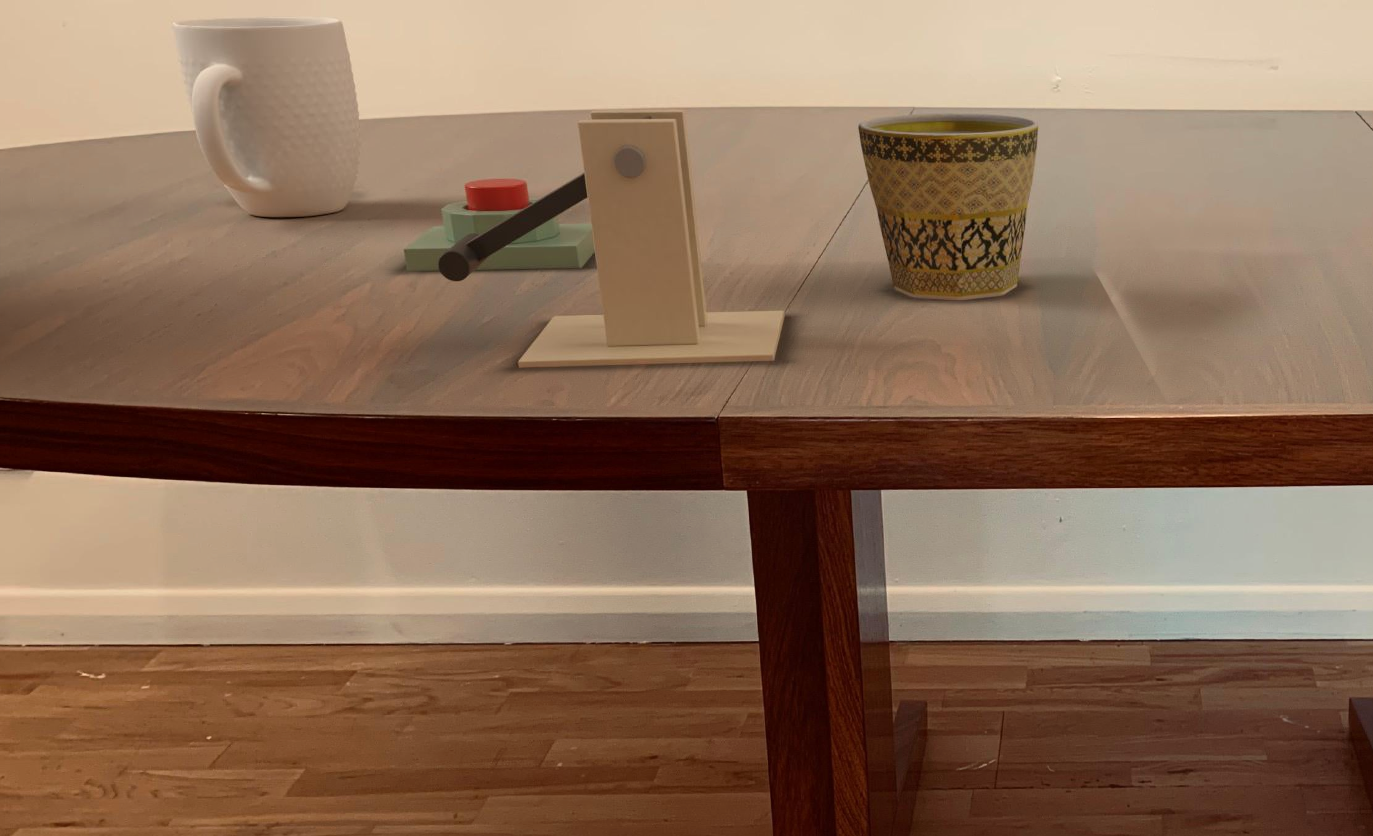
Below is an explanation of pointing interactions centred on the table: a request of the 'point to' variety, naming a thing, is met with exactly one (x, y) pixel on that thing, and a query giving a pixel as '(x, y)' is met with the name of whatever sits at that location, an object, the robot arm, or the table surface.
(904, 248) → the ceramic cup
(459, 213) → the button box
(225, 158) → the mug
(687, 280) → the bracket
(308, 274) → the table surface
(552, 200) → the lever
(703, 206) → the table surface
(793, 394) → the table surface
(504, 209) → the button
